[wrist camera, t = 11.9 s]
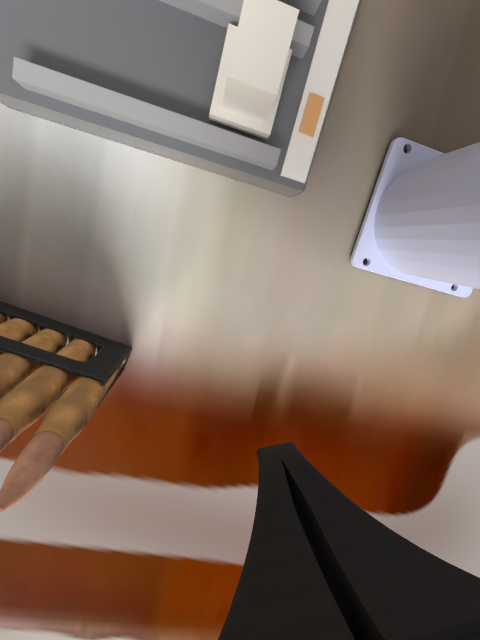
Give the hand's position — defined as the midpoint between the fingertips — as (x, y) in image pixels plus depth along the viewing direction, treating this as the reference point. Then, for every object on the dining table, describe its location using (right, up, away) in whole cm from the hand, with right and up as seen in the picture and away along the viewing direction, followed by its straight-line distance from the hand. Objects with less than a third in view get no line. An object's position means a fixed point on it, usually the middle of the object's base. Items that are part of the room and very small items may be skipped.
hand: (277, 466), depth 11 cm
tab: (-1, +17, +3) cm, 17 cm away
